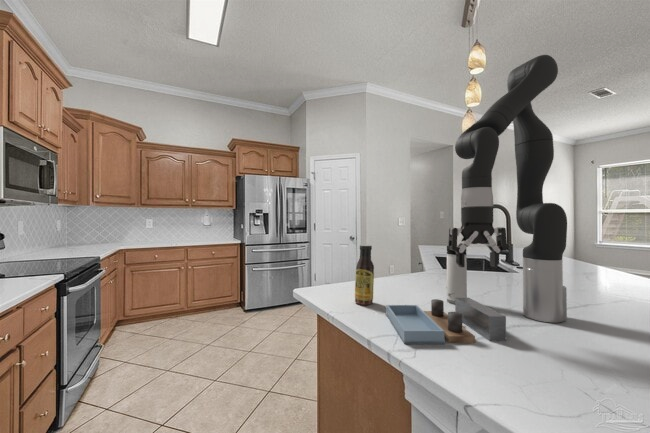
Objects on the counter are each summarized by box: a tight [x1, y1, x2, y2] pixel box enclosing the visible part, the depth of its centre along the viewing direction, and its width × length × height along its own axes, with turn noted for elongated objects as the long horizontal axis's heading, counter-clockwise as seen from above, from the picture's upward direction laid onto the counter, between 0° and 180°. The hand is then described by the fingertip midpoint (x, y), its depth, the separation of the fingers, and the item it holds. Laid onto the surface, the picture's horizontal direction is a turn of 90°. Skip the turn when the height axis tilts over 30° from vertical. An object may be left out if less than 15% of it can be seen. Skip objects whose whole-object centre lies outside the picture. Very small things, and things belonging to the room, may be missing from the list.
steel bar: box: [454, 297, 507, 342], centre depth 74 cm, size 4×16×6 cm, turn 2°
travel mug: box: [446, 244, 468, 305], centre depth 97 cm, size 6×7×20 cm
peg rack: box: [423, 298, 476, 344], centre depth 74 cm, size 6×18×6 cm, turn 0°
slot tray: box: [385, 304, 446, 345], centre depth 74 cm, size 9×20×3 cm, turn 0°
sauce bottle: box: [354, 244, 375, 306], centre depth 97 cm, size 6×6×20 cm
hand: (477, 266), depth 75 cm, fingers open, 8 cm apart
